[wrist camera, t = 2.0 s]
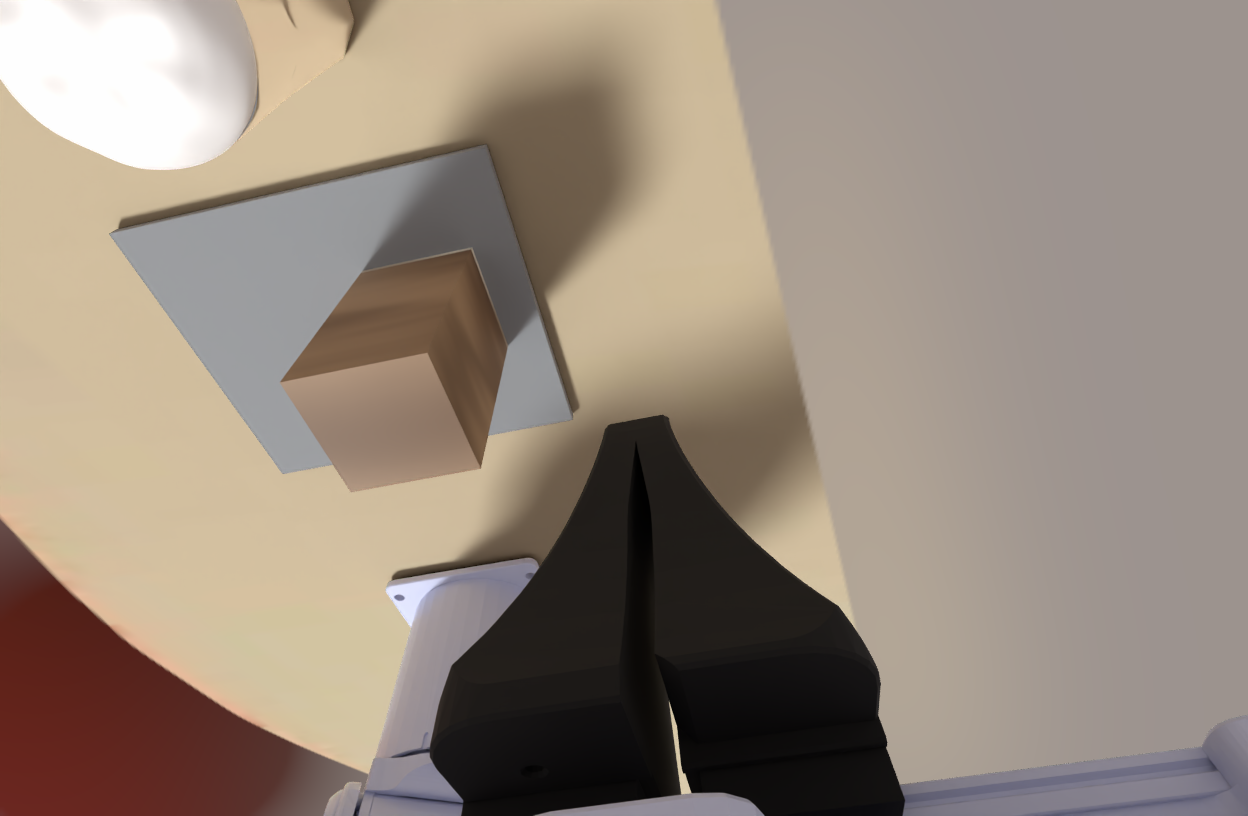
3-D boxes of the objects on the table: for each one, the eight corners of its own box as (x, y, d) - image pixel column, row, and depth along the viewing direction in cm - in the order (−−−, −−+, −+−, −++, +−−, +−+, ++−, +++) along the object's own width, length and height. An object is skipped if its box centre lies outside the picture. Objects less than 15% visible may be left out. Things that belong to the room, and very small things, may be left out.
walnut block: (508, 345, 24) (480, 468, 18) (408, 365, 24) (350, 492, 18) (472, 247, 21) (427, 352, 16) (362, 270, 22) (279, 382, 16)
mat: (572, 414, 26) (572, 419, 26) (286, 467, 27) (282, 474, 27) (486, 143, 20) (484, 147, 19) (116, 229, 21) (108, 233, 20)
